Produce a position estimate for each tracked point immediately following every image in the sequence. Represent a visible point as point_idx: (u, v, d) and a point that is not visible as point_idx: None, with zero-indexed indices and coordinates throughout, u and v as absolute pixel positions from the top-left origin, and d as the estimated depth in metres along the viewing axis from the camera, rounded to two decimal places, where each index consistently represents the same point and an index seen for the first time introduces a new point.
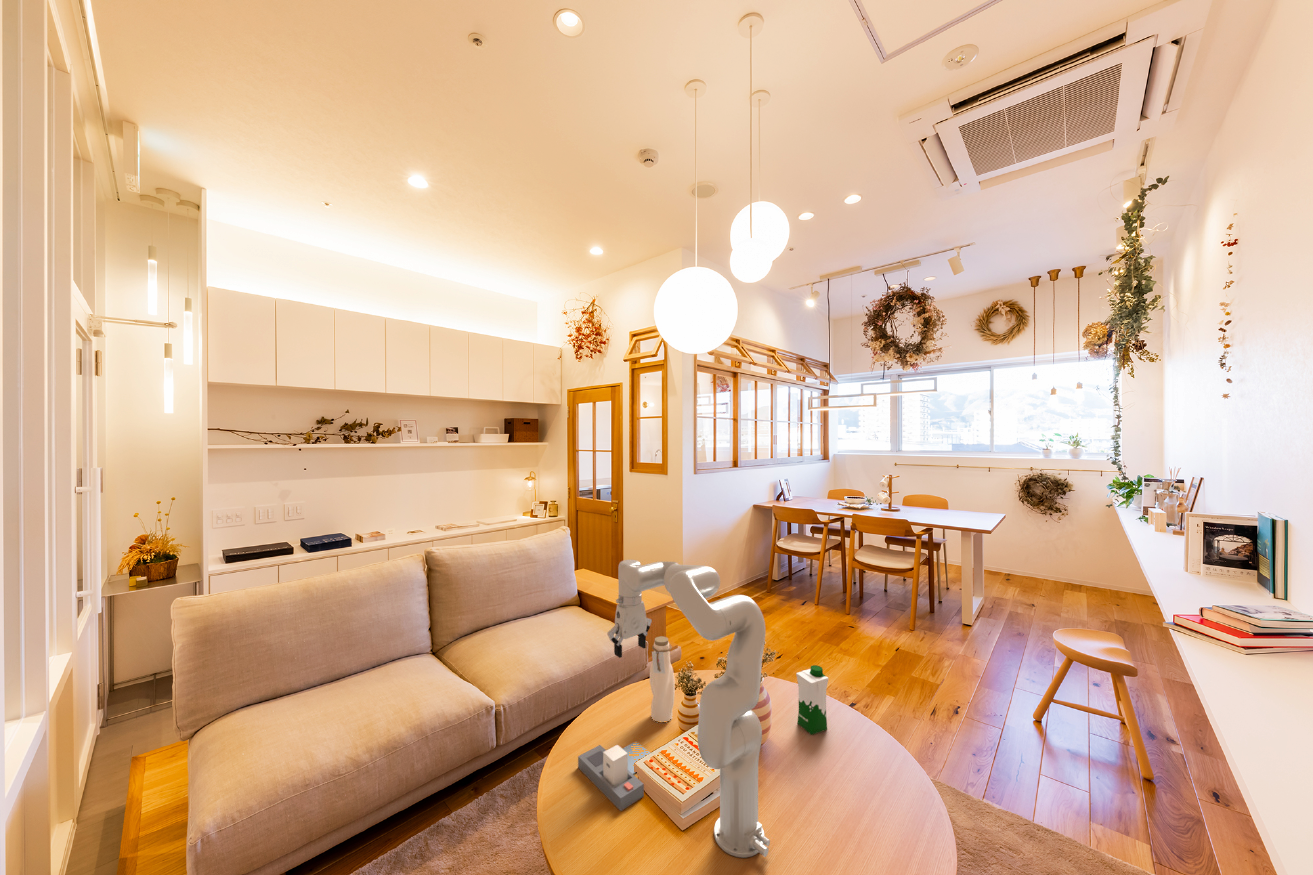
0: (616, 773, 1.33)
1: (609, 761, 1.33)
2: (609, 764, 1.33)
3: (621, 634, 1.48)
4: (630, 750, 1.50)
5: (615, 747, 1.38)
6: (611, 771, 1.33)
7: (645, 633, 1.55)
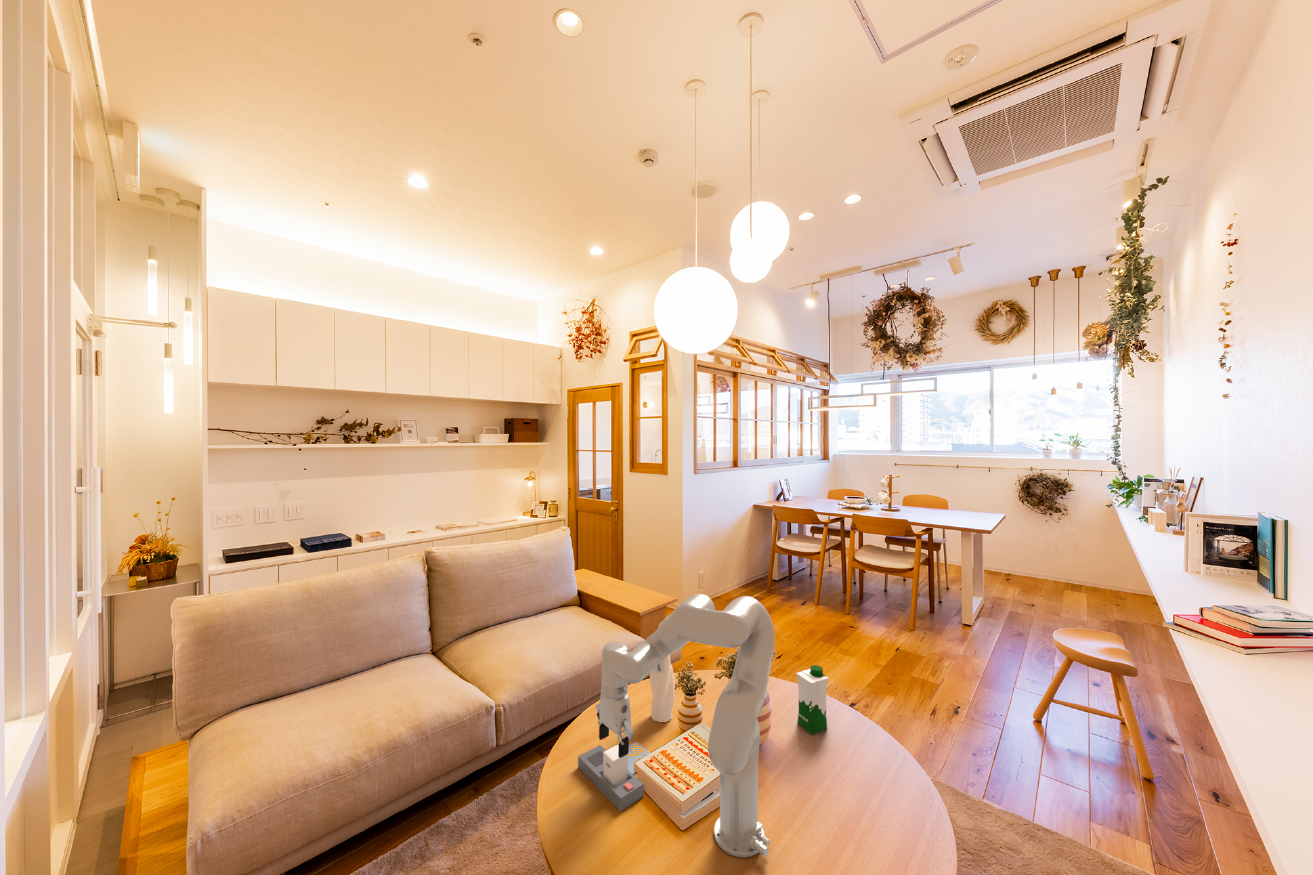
0: (616, 773, 1.33)
1: (609, 761, 1.33)
2: (609, 764, 1.33)
3: (629, 726, 1.33)
4: (630, 750, 1.50)
5: (615, 747, 1.38)
6: (611, 771, 1.33)
7: None
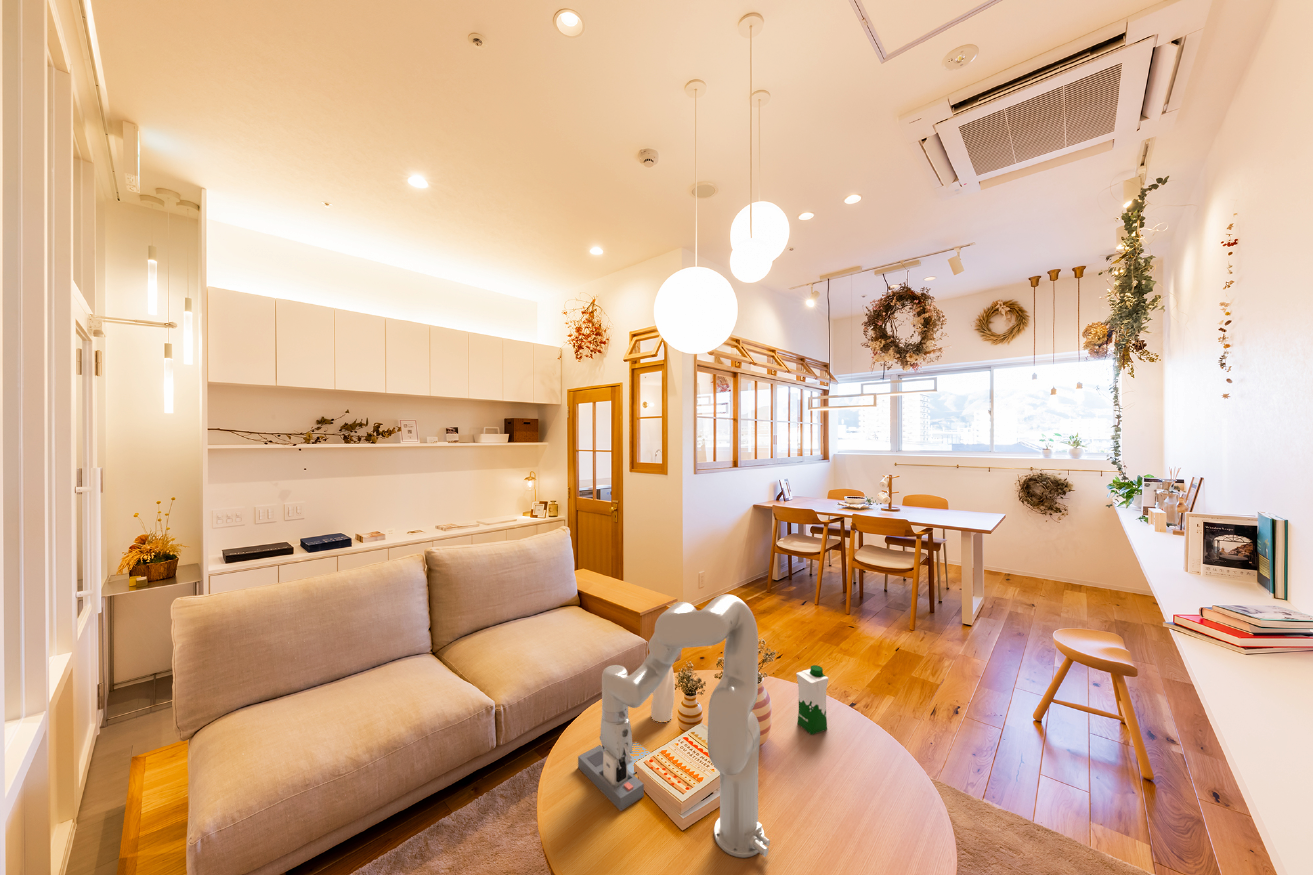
0: None
1: (609, 761, 1.33)
2: (609, 764, 1.33)
3: (631, 750, 1.33)
4: None
5: None
6: (611, 771, 1.33)
7: None
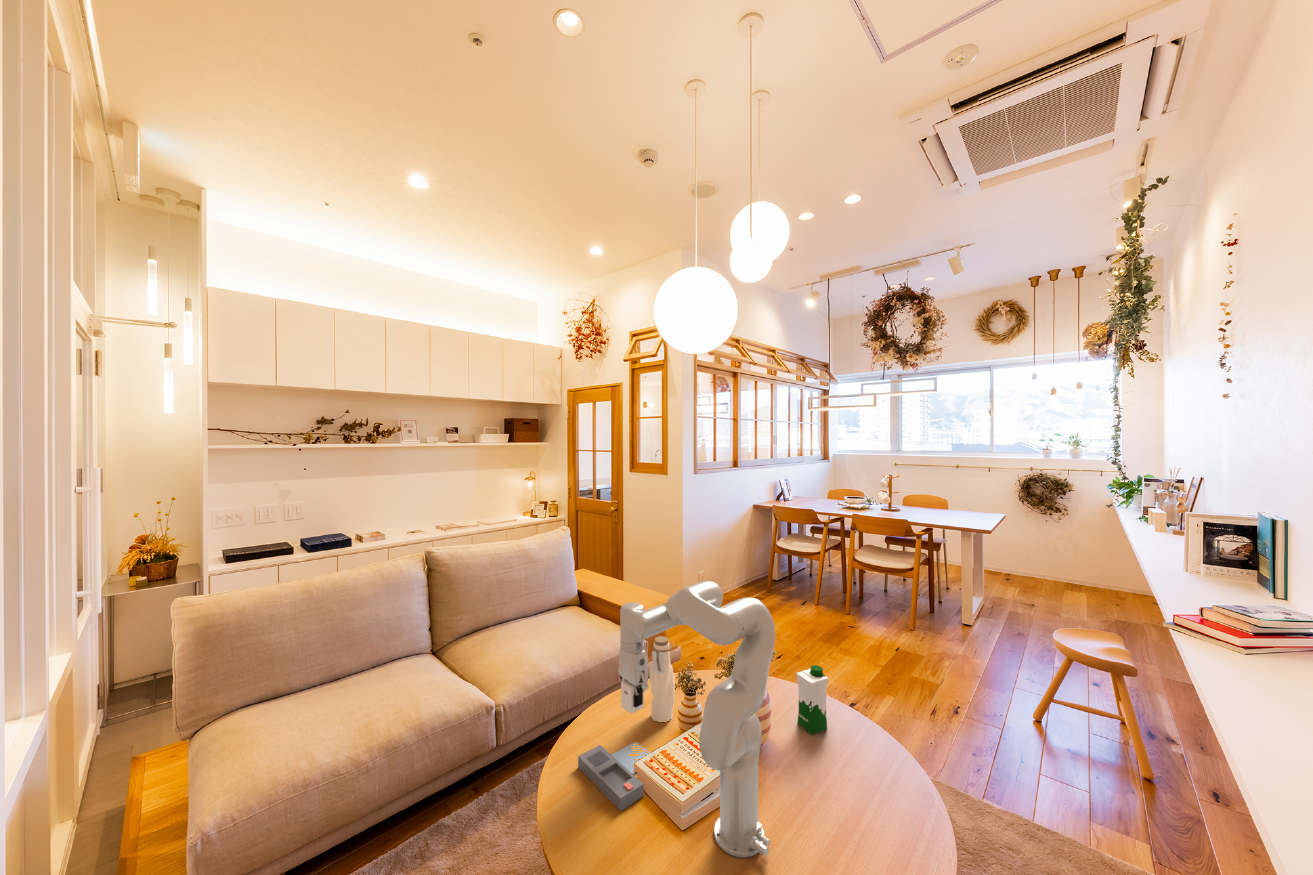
0: (633, 699, 1.44)
1: (627, 689, 1.45)
2: (627, 691, 1.45)
3: (647, 678, 1.44)
4: (630, 750, 1.50)
5: None
6: (628, 698, 1.44)
7: None
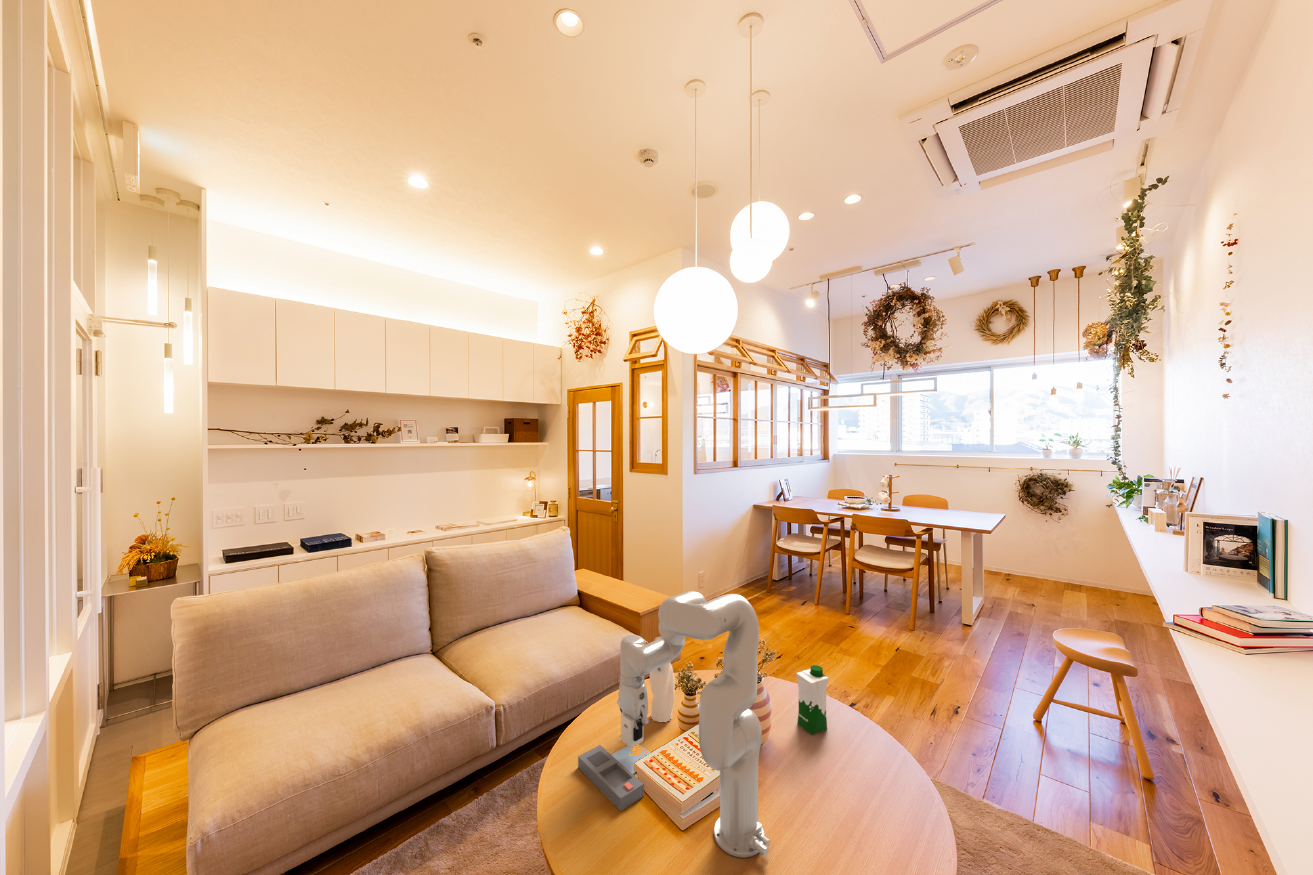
0: None
1: (627, 722, 1.45)
2: (627, 725, 1.45)
3: (647, 712, 1.45)
4: (630, 750, 1.50)
5: None
6: (628, 731, 1.45)
7: None
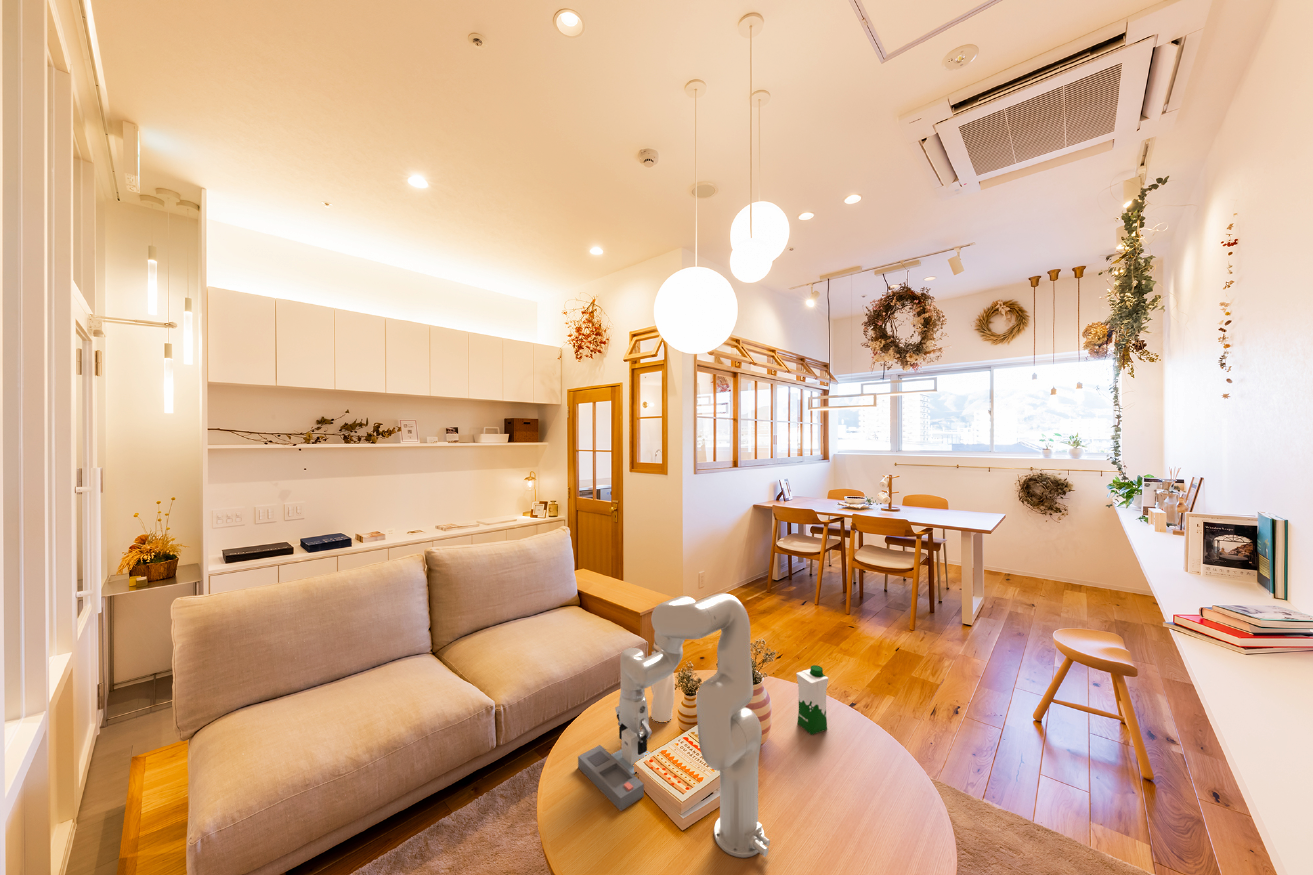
0: (634, 751, 1.44)
1: (627, 740, 1.45)
2: (627, 742, 1.45)
3: (647, 725, 1.45)
4: None
5: None
6: (628, 749, 1.44)
7: None
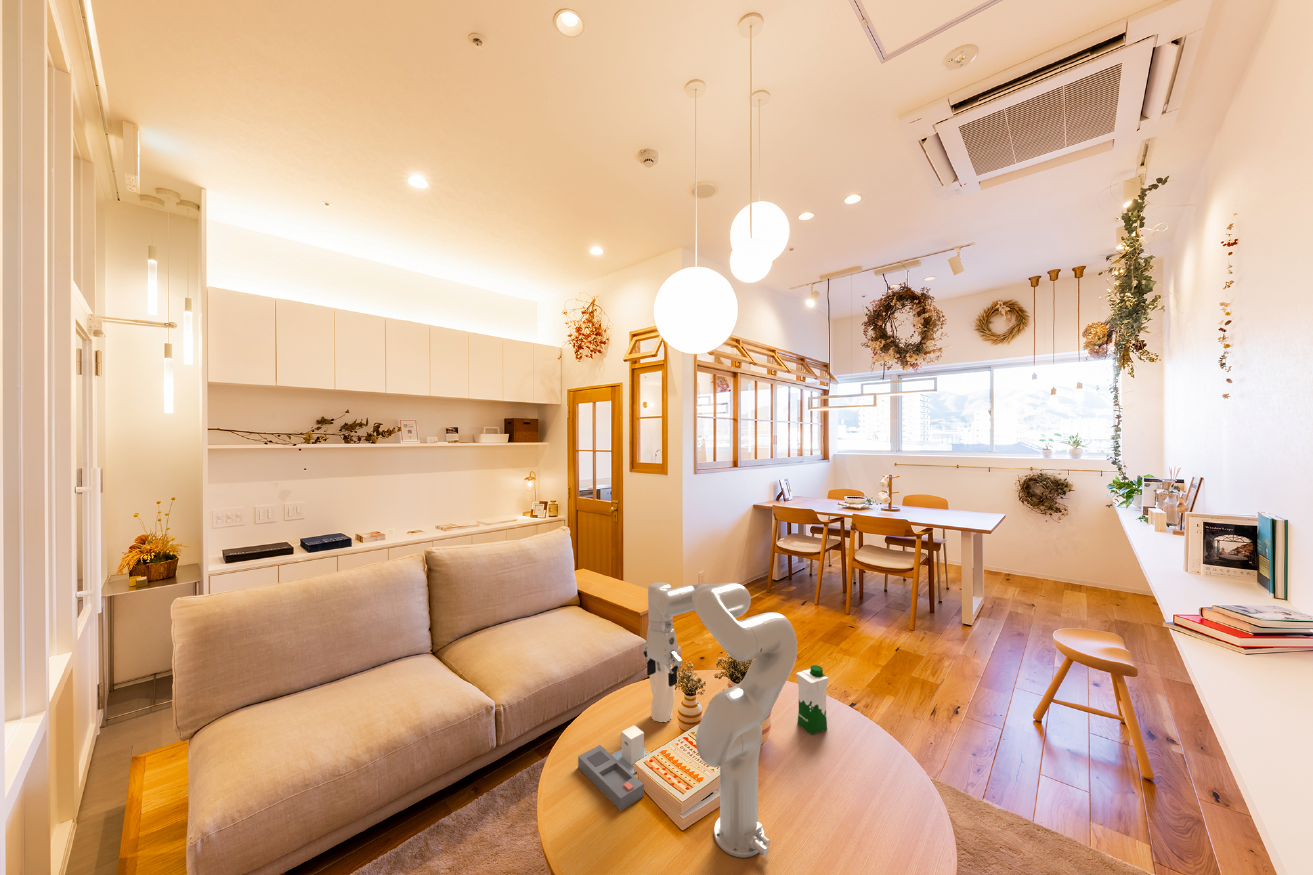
0: (634, 751, 1.44)
1: (627, 740, 1.45)
2: (627, 742, 1.45)
3: None
4: None
5: (632, 727, 1.49)
6: (628, 749, 1.44)
7: None
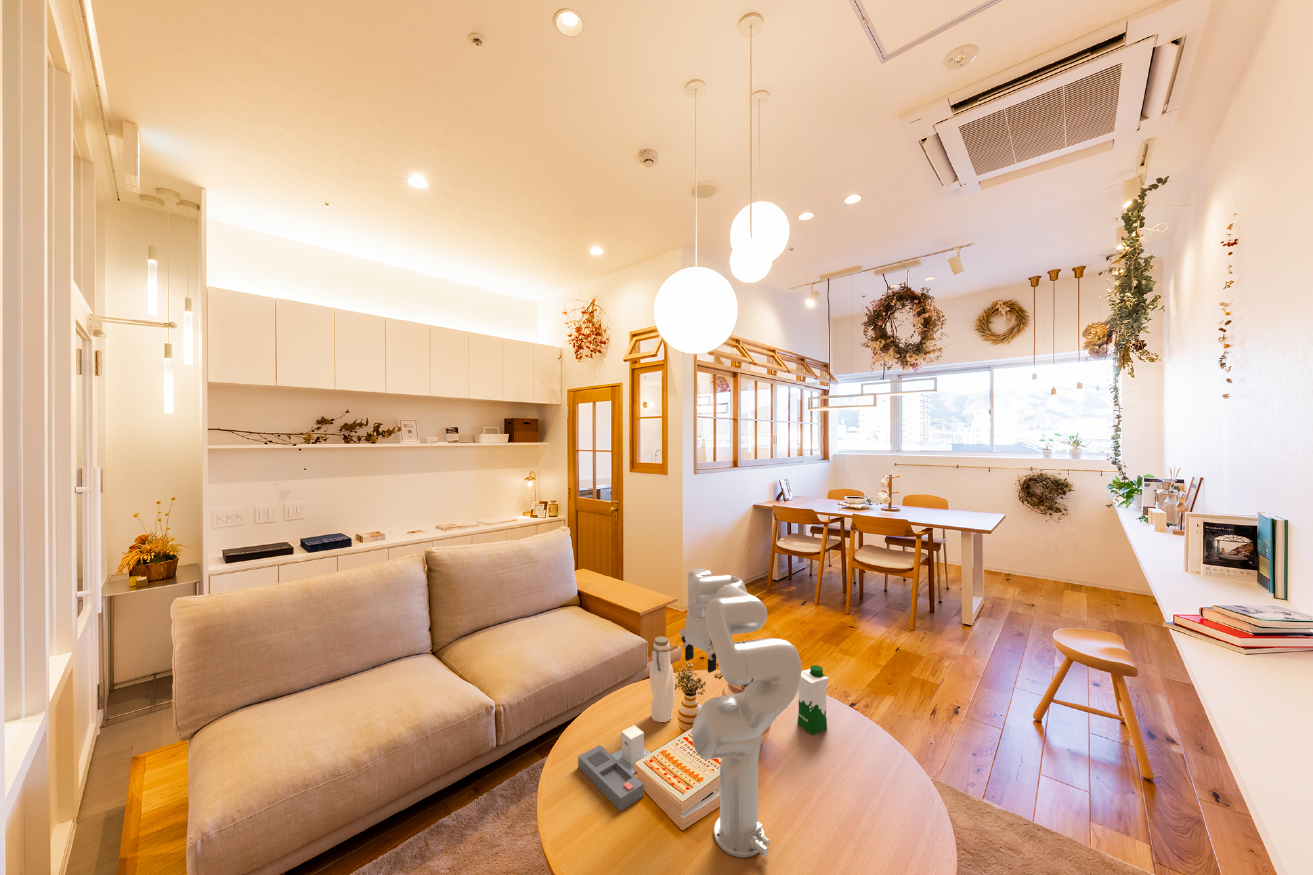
0: (634, 751, 1.44)
1: (627, 740, 1.45)
2: (627, 742, 1.45)
3: None
4: None
5: (632, 727, 1.49)
6: (628, 749, 1.44)
7: None
